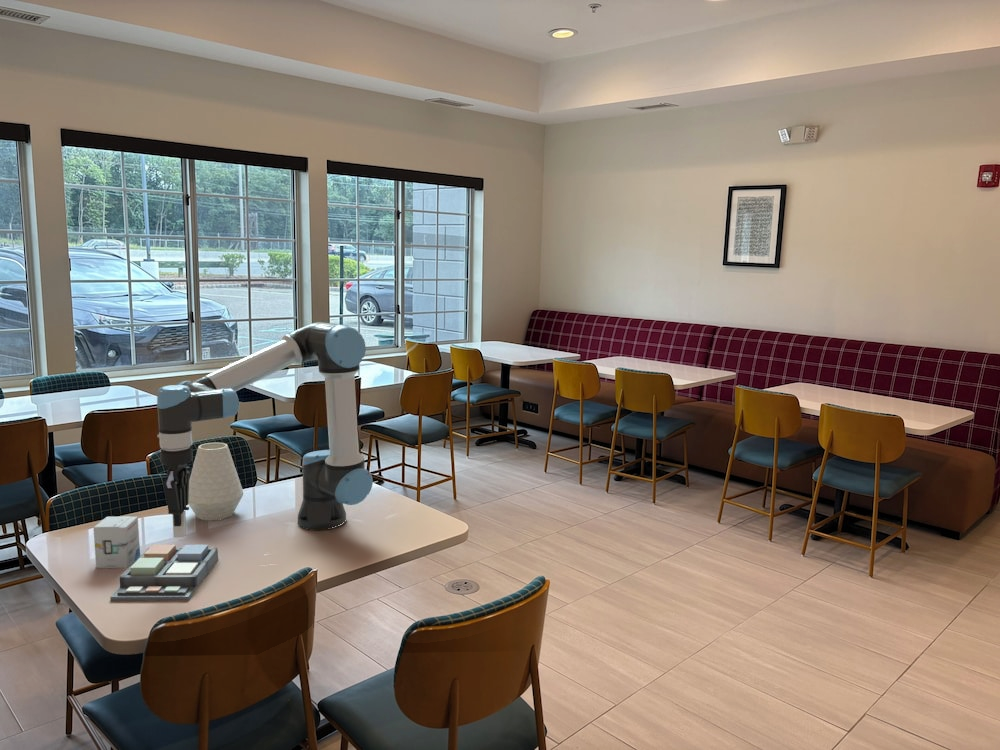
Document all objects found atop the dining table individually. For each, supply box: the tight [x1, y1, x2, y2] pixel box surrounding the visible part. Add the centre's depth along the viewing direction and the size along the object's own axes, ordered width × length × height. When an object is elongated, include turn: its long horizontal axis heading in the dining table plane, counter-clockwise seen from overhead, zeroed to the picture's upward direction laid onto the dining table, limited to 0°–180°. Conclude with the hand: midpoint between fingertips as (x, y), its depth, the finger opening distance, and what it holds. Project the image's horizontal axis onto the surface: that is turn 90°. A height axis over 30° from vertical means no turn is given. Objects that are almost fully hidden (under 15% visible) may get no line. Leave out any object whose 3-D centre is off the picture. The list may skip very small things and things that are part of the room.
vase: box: [187, 442, 244, 522], centre depth 233 cm, size 18×17×23 cm
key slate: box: [178, 544, 209, 561], centre depth 195 cm, size 6×6×2 cm
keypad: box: [109, 547, 219, 602], centre depth 189 cm, size 18×24×4 cm
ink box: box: [93, 515, 141, 569], centre depth 197 cm, size 8×8×12 cm
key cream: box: [166, 563, 198, 575], centre depth 187 cm, size 6×6×2 cm
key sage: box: [129, 557, 164, 575], centre depth 186 cm, size 6×6×2 cm
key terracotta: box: [143, 544, 177, 561], centre depth 195 cm, size 6×6×2 cm
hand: (180, 536), depth 186 cm, fingers closed
